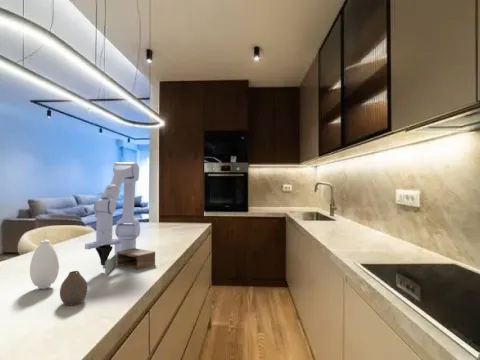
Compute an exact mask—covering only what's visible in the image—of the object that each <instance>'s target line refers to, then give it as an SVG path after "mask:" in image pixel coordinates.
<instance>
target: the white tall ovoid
mask: <svg viewBox="0 0 480 360" xmlns="http://www.w3.org/2000/svg"><path fill="white" fill-rule="evenodd" d="M43 238H44V239H43V240H41V241H40V243H39V245H38V246H37V247H36V249H35V251H34V252H33V255H32V257H31V260H30V265H29V276H30V280H31V282H32V284H33V285H34V286H35V287H37V288H38V289H41V290H45V289H48V288H49V287H51V286H52V284H54V283H55V282H56V281H57V278H58V275H59V271H60V269H59V268H60V263H59V257H58V254H57V253H58V252H57V251H56V250H55V248H54V246H53V245H52V244H51V240H49V239H47V233H46V232H45V233H44V237H43Z"/></svg>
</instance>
